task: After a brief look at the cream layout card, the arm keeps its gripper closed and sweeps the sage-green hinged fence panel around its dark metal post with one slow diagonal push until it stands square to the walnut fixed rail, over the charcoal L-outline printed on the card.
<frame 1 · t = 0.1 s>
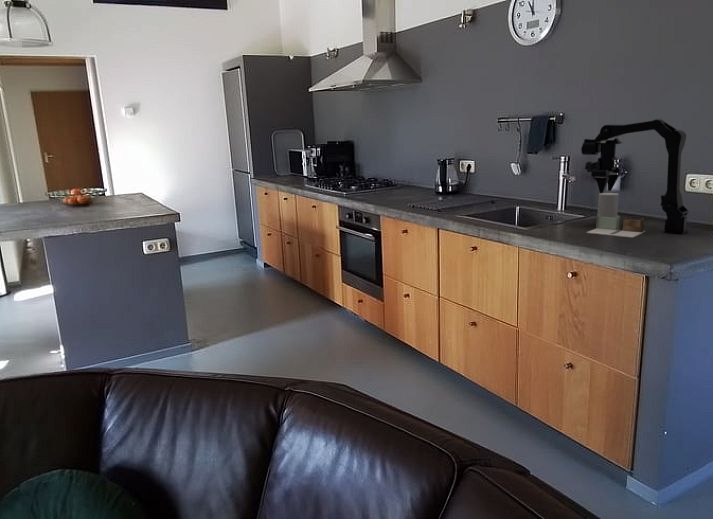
hand: (605, 192, 234), 15 cm above the worktop, fingers open, 9 cm apart
fence panel: (608, 221, 228), point 3 cm above the worktop, hinge at 0.0°
layout card: (615, 232, 222), on the worktop
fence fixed: (620, 230, 225), resting on layout card
gray block: (607, 220, 249), on the worktop
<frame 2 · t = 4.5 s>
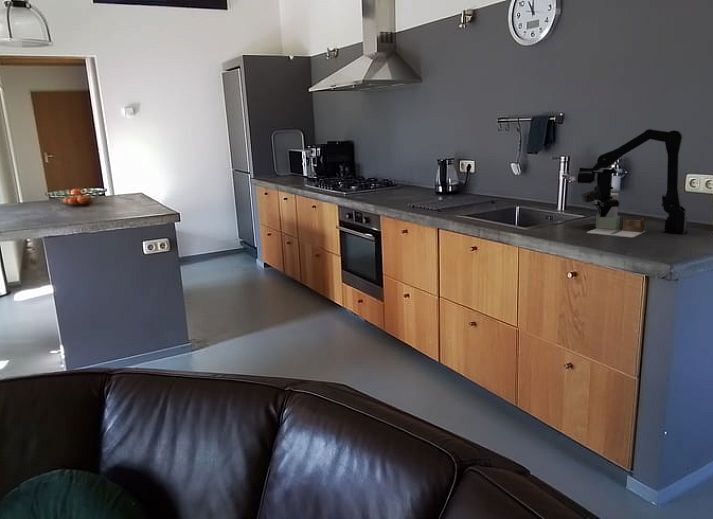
hand: (601, 220, 232), 3 cm above the worktop, fingers closed
fence panel: (607, 221, 227), point 3 cm above the worktop, hinge at 3.4°
everything else where it was.
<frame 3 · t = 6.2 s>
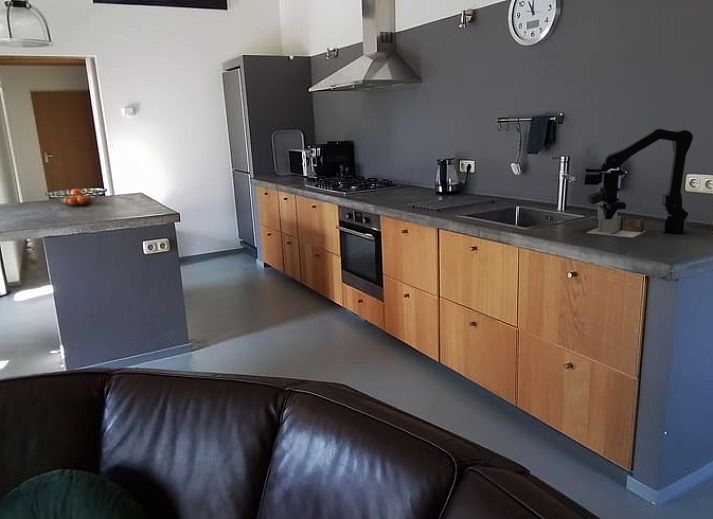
hand: (607, 223, 225), 3 cm above the worktop, fingers closed
fence panel: (609, 223, 223), point 3 cm above the worktop, hinge at 53.8°, touching gripper
everything else where it was.
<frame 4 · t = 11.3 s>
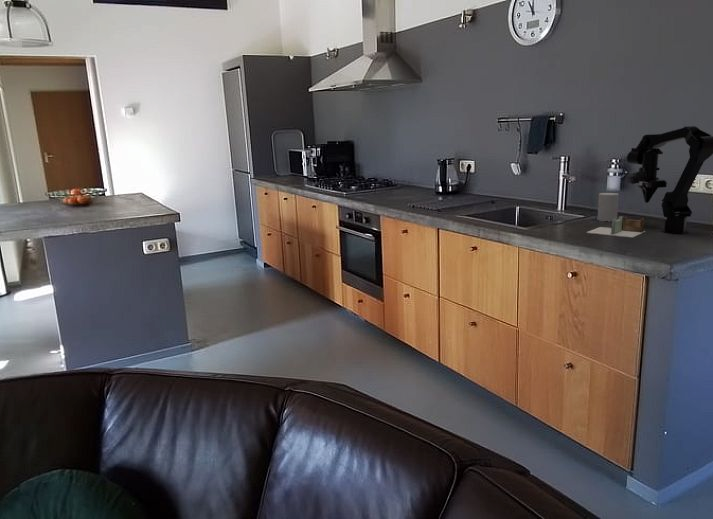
hand: (646, 202, 230), 10 cm above the worktop, fingers closed
fence panel: (617, 225, 220), point 3 cm above the worktop, hinge at 92.1°
everything else where it was.
at the end: fence panel at +92° (first picture: +0°) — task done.
